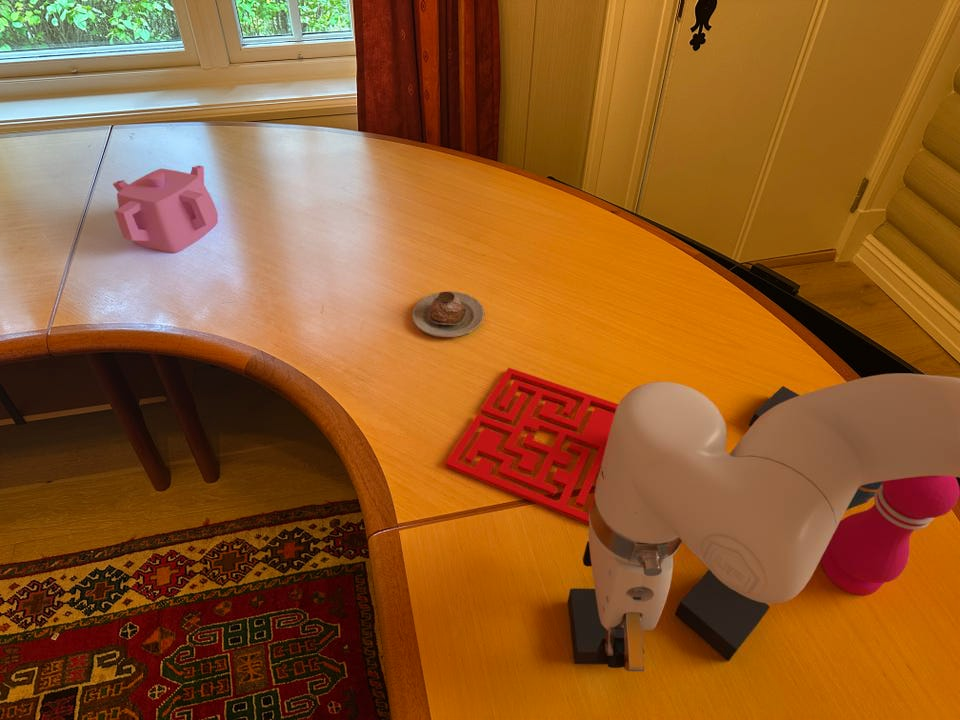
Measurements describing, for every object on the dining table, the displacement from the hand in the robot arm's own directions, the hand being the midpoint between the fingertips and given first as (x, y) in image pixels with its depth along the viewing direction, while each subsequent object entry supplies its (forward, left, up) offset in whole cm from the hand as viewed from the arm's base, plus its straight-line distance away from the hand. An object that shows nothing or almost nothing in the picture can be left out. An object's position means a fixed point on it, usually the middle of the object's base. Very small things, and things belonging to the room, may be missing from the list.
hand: (604, 608), depth 60 cm
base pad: (0, -41, -5) cm, 42 cm away
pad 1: (0, 0, -5) cm, 5 cm away
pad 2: (-8, -10, -5) cm, 14 cm away
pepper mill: (-15, -26, -5) cm, 31 cm away
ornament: (-11, -34, -5) cm, 36 cm away
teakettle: (+108, +2, -5) cm, 108 cm away
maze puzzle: (+21, -14, -5) cm, 26 cm away
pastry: (+50, -21, -5) cm, 55 cm away
